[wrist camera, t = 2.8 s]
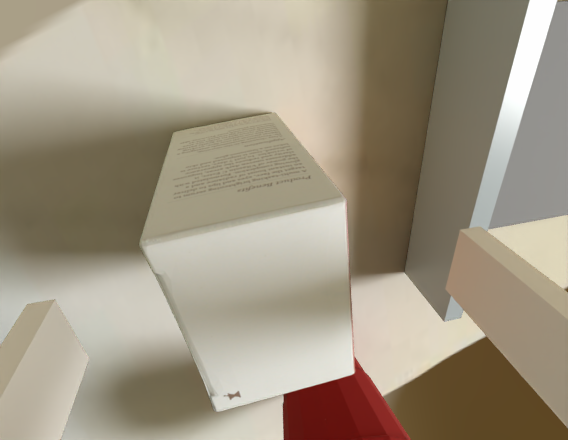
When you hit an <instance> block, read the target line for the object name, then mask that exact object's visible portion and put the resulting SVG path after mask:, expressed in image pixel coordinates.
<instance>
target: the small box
mask: <svg viewBox="0 0 568 440" xmlns="http://www.w3.org/2000/svg"><path fill="white" fill-rule="evenodd" d="M139 246H140V249H141V251H142V253H143V255H144V256H145V258H146V260H147V262H148V264H149V266H150V268H151V269H152V271H153V273H154V275H155V277H156V279H157V281H158V283H159V285H160V287H161V289H162V291H163V293H164V295H165V297H166V299H167V302H168V304H169V306H170V308H171V310H172V313H173V315H174V317H175V319H176V321H177V323H178V325H179V328H180V330H181V332H182V334H183V336H184V339H185V341H186V343H187V345H188V348H189V350H190V352H191V354H192V357H193V359H194V361H195V363H196V366H197V368H198V370H199V372H200V375H201V377H202V380H203V382H204V385H205V387H206V389H207V392H208V396H209V399H210V401H211V404H212V407H213V410H214V411H216V412H219V411H223V410H227V409H231V408H234V407H238V406H242V405H246V404H250V403H253V402H257V401H260V400H264V399H267V398H271V397H274V396H278V395H281V394H285V393H289V392H293V391H296V390H300V389H303V388H307V387H311V386H314V385H318V384H322V383H325V382H329V381H332V380H336V379H339V378H343V377H346V376H349V375H352V374H354V373H355V361H354V342H353V321H352V303H351V284H350V266H349V242H348V222H347V199H346V198H345V196H344V195H343V194H342V192H341V191H340V190H339V189H338V188H337V187H336V185H335V184H334V183H333V182H332V180H331V179H330V178H329V177H328V176H327V174H326V173H325V172H324V171H323V170H322V168H321V167H320V166H319V165H318V164H317V162H316V161H315V160H314V158H313V157H312V156H311V155H310V154H309V153H308V151H307V150H306V149H305V148H304V147H303V146H302V144H301V143H300V142H299V141H298V139H297V138H296V137H295V135H294V134H293V133H292V132H291V131H290V129H289V128H288V127H287V126H286V125H285V123H284V122H283V121H282V120H281V119H280V117H279V116H278V115H277V114H276V113H269V114H264V115H258V116H253V117H247V118H242V119H237V120H231V121H226V122H221V123H216V124H211V125H206V126H200V127H195V128H190V129H186V130H181V131H176V132H173V135H172V138H171V142H170V145H169V148H168V151H167V154H166V158H165V161H164V164H163V167H162V170H161V174H160V177H159V180H158V183H157V186H156V190H155V193H154V196H153V199H152V202H151V206H150V209H149V212H148V215H147V219H146V222H145V226H144V229H143V232H142V235H141V238H140V242H139Z"/></svg>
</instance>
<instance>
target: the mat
mask: <svg viewBox="0 0 568 440" xmlns="http://www.w3.org/2000/svg"><path fill="white" fill-rule="evenodd" d="M563 215H568V1H560V2H556V6H555V9H554V12H553V15H552V19H551V22H550V25H549V29H548V32H547V35H546V39H545V42H544V45H543V49H542V52H541V55H540V58H539V62H538V65H537V68H536V72H535V75H534V78H533V82H532V85H531V88H530V92H529V95H528V98H527V102H526V105H525V108H524V111H523V115H522V118H521V121H520V125H519V128H518V131H517V135H516V138H515V141H514V145H513V148H512V151H511V154H510V158H509V161H508V164H507V168H506V171H505V174H504V178H503V181H502V184H501V188H500V191H499V194H498V197H497V201H496V204H495V207H494V211H493V214H492V217H491V221H490V224H489V227H488V229H493V228H498V227H503V226H509V225H514V224H520V223H525V222H531V221H536V220H542V219H547V218H553V217H558V216H563Z"/></svg>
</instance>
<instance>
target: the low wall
mask: <svg viewBox="0 0 568 440" xmlns="http://www.w3.org/2000/svg"><path fill="white" fill-rule="evenodd" d="M556 2H557V0H448V4H447V10H446V16H445V23H444V29H443V35H442V41H441V48H440V54H439V60H438V66H437V73H436V79H435V85H434V91H433V98H432V104H431V110H430V116H429V122H428V129H427V135H426V141H425V147H424V154H423V160H422V166H421V172H420V179H419V185H418V191H417V197H416V204H415V210H414V216H413V222H412V229H411V235H410V241H409V247H408V254H407V260H406V266H405V274H406V275H407V276H408V277H409V278H410V280H411V281H412V282H413V283H414V285H415V286H416V287H417V288H418V290H419V291H420V292H421V293H422V295H423V296H424V297H425V298H426V300H427V301H428V302H429V303H430V305H431V306H432V307H433V308H434V310H435V311H436V312H437V313H438V315H439V316H440V317H441V318H442V320H443V321H444V322H445V321H449V320H454V319H458V318H461V317H462V313H463V309H462V307H461V306H460V305H459V304H458V303H457V302H456V301H455V300H454V298H453V297H452V296H451V295H450V294H449V293H448V292H447V290H446V289H445V288H446V284H447V280H448V276H449V272H450V268H451V264H452V260H453V256H454V252H455V248H456V244H457V240H458V236H459V232H460V230H462V229H467V228H473V227H479V226H480V227H482V228H483V229H484V230H486V231H488V227H489V224H490V221H491V217H492V214H493V211H494V207H495V204H496V201H497V197H498V194H499V191H500V188H501V184H502V181H503V178H504V174H505V171H506V168H507V164H508V161H509V158H510V154H511V151H512V148H513V145H514V141H515V138H516V135H517V131H518V128H519V125H520V121H521V118H522V115H523V111H524V108H525V105H526V102H527V98H528V95H529V92H530V88H531V85H532V82H533V78H534V75H535V72H536V68H537V65H538V62H539V58H540V55H541V52H542V49H543V45H544V42H545V39H546V35H547V32H548V29H549V25H550V22H551V19H552V15H553V12H554V9H555V6H556Z"/></svg>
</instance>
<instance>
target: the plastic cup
mask: <svg viewBox="0 0 568 440" xmlns="http://www.w3.org/2000/svg"><path fill="white" fill-rule="evenodd" d="M354 361H355V373H354V374H352V375H349V376H346V377H343V378H339V379H336V380H332V381H329V382H325V383H322V384H318V385H314V386H311V387H307V388H303V389H300V390H296V391H293V392H289V393H285V394H284V403H283V429H284V440H411V439H410V438H409V436H408V435H407V433H406V432H405V430H404V429H403V427H402V426H401V424H400V423H399V421H398V419H397V418H396V417H395V415H394V413H393V412H392V410H391V409H390V407H389V406H388V404H387V403H386V401H385V400H384V398H383V397H382V395H381V394H380V392H379V391H378V389H377V388H376V386H375V384H374V383H373V381H372V380H371V378H370V377H369V376H368V375H367V374H366V373H365V372H364V370H363V369H362V367H361V366H360V364H359V363H358V361H357V360H356V358H355V357H354Z"/></svg>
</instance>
